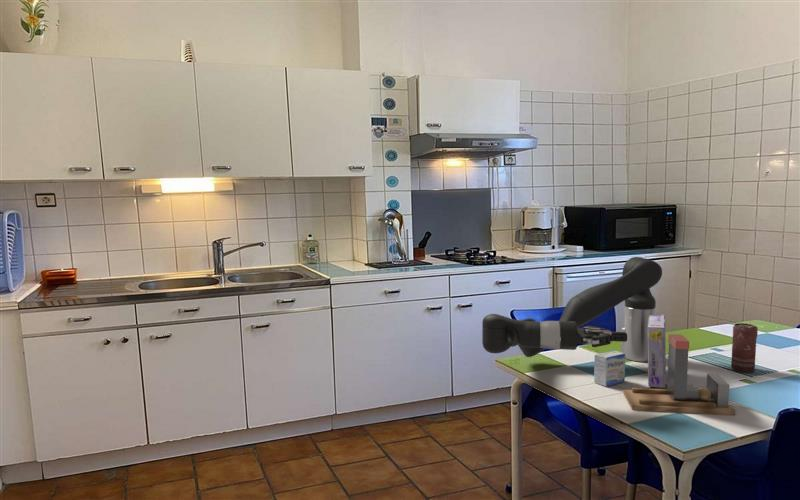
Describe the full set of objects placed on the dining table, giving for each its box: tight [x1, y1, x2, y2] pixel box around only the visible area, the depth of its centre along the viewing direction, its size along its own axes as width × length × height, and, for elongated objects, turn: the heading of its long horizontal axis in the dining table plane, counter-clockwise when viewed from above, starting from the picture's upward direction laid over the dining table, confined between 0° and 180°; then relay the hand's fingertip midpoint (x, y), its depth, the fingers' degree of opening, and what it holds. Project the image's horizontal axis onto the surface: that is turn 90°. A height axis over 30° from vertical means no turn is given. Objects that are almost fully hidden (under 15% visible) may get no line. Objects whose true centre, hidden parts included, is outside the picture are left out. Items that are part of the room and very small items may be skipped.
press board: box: [622, 387, 736, 416], centre depth 144 cm, size 24×11×2 cm, turn 79°
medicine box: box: [593, 350, 626, 388], centre depth 160 cm, size 8×4×9 cm, turn 117°
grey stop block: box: [706, 373, 730, 408], centre depth 142 cm, size 2×8×6 cm, turn 169°
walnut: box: [696, 386, 711, 401], centre depth 143 cm, size 4×4×4 cm
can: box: [730, 322, 759, 374], centre depth 168 cm, size 6×6×14 cm
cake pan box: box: [647, 314, 667, 389], centre depth 163 cm, size 19×5×18 cm, turn 155°
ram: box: [666, 333, 699, 402], centre depth 143 cm, size 6×6×16 cm
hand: (626, 336), depth 144 cm, fingers closed
